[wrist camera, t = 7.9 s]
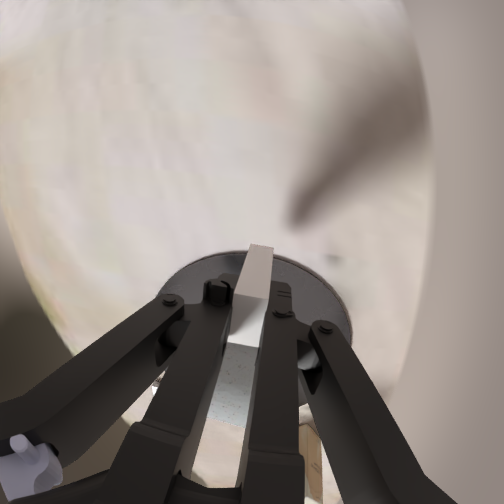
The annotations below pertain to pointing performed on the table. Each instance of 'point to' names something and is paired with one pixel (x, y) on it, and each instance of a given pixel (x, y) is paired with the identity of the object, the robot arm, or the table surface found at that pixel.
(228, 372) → the ceramic mug
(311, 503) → the box
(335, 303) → the platter
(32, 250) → the table surface
